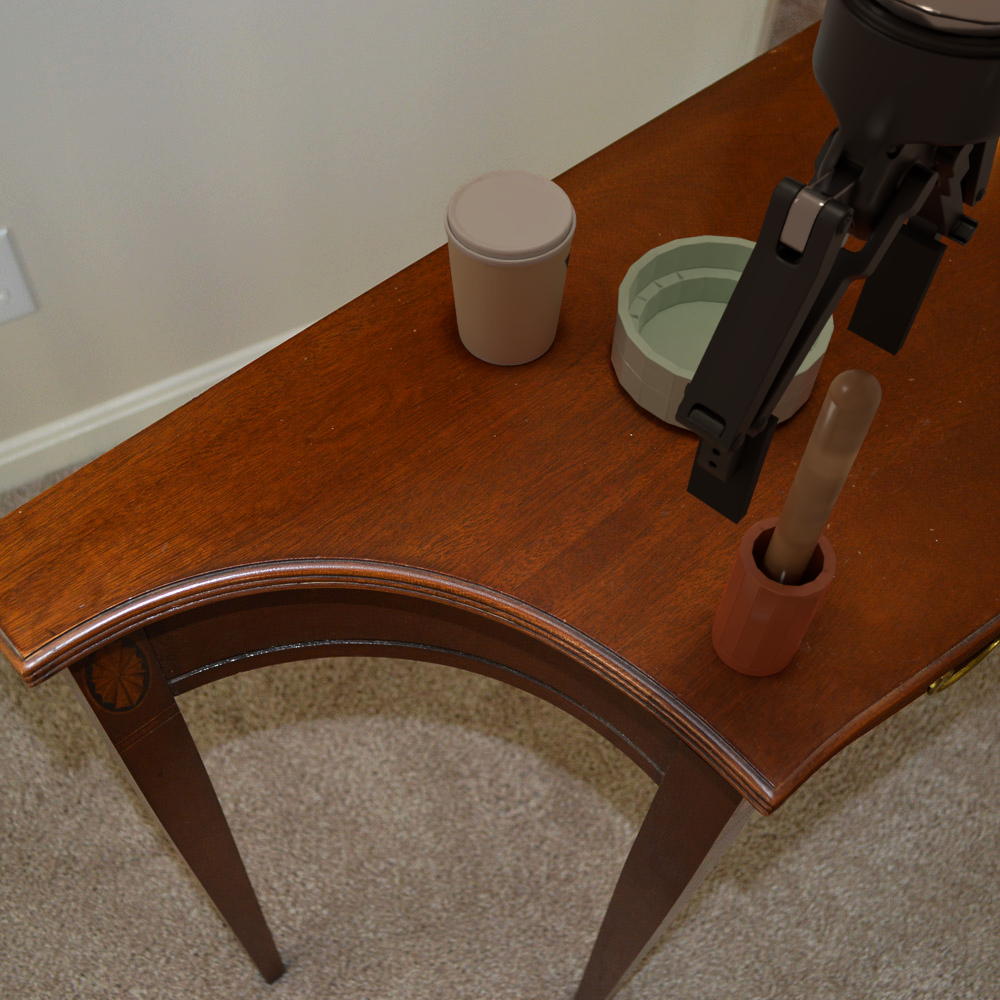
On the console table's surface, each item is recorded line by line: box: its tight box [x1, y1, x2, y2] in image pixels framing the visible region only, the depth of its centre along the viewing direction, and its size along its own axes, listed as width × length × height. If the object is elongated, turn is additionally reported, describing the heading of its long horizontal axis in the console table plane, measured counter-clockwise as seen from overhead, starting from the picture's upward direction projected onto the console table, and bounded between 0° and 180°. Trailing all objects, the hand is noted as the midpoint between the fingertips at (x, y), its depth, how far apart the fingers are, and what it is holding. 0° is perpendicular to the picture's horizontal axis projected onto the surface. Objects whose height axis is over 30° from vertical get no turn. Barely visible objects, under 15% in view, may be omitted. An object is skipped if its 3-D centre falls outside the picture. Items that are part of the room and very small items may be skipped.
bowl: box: [610, 234, 835, 432], centre depth 82 cm, size 16×16×6 cm
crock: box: [710, 516, 837, 678], centre depth 66 cm, size 5×6×10 cm
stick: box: [759, 368, 883, 586], centre depth 60 cm, size 2×2×24 cm
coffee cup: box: [443, 169, 577, 367], centre depth 81 cm, size 9×9×12 cm
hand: (799, 416), depth 51 cm, fingers open, 13 cm apart
